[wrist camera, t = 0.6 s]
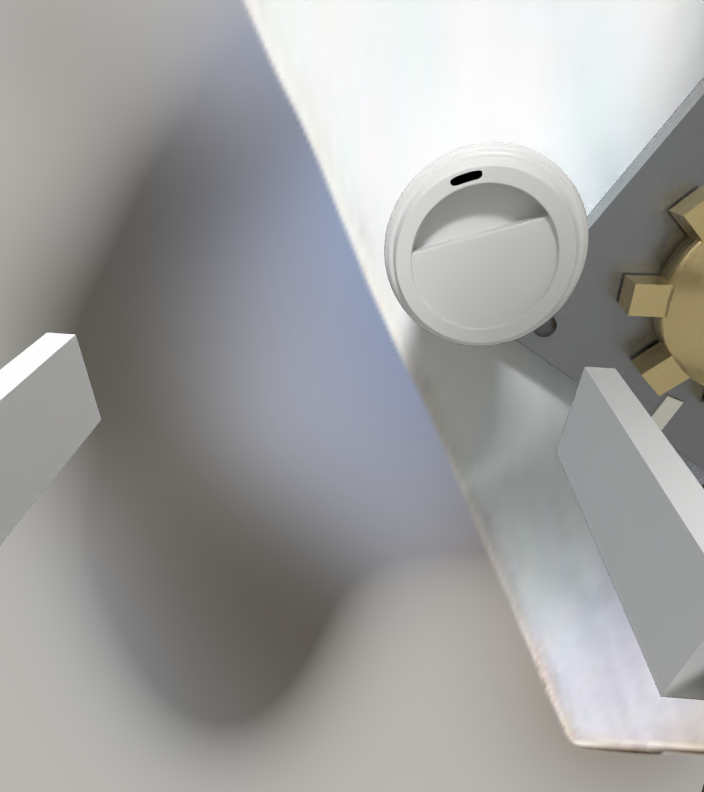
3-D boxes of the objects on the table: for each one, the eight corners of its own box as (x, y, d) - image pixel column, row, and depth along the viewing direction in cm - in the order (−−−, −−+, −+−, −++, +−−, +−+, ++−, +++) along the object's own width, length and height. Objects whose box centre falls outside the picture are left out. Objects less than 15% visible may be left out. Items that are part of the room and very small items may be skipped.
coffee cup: (567, 149, 33) (630, 154, 20) (530, 292, 37) (562, 374, 24) (421, 135, 34) (390, 131, 21) (403, 275, 39) (368, 343, 26)
